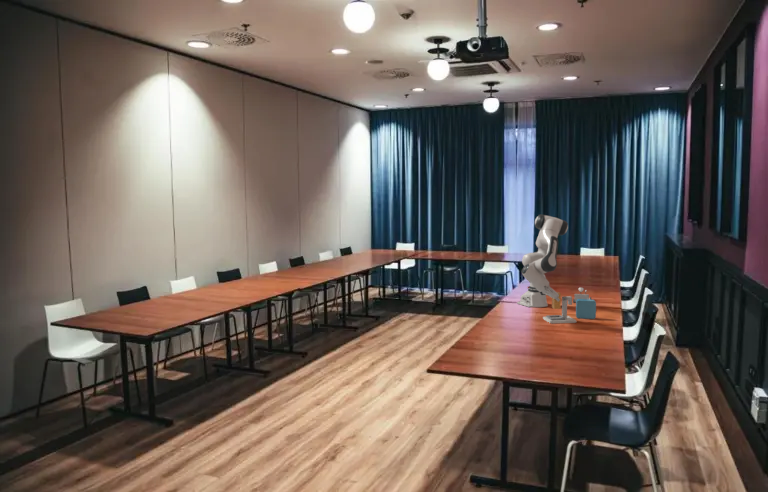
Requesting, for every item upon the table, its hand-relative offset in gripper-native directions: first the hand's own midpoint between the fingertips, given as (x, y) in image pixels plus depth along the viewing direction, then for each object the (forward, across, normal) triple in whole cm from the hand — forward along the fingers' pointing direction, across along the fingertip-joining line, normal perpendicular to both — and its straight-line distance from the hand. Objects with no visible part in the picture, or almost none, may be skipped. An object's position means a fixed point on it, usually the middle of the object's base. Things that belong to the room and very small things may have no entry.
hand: (557, 299), depth 355 cm
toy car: (+40, +60, -20) cm, 75 cm away
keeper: (+10, 0, +9) cm, 14 cm away
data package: (+25, +6, -5) cm, 26 cm away
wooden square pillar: (+3, 0, +4) cm, 5 cm away
